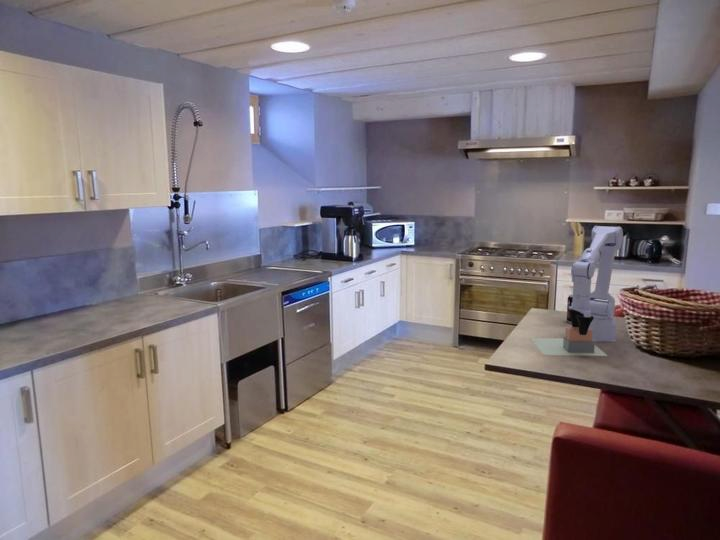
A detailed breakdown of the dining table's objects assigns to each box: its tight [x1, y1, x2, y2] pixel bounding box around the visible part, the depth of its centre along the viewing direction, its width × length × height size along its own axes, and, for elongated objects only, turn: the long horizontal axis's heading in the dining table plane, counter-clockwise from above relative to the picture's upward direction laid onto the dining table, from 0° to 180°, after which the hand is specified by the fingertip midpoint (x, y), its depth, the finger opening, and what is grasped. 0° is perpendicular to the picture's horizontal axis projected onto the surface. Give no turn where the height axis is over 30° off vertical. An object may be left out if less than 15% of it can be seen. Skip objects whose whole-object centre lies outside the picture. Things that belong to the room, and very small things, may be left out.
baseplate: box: [529, 337, 608, 357], centre depth 189 cm, size 22×20×1 cm
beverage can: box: [566, 294, 573, 325], centre depth 221 cm, size 7×7×12 cm
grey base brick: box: [563, 336, 596, 353], centre depth 184 cm, size 9×6×4 cm, turn 85°
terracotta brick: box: [564, 326, 593, 341], centre depth 184 cm, size 8×4×4 cm, turn 85°
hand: (579, 331), depth 183 cm, fingers open, 7 cm apart
